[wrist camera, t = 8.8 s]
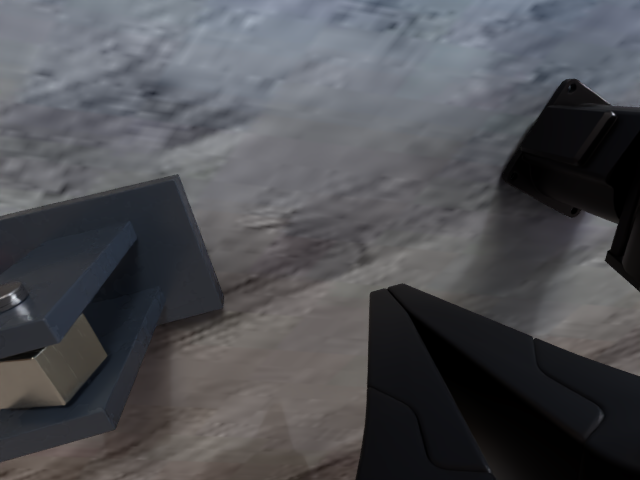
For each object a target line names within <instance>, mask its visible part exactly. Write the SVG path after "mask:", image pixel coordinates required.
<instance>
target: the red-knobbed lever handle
mask: <svg viewBox="0 0 640 480" xmlns="http://www.w3.org/2000/svg"><path fill="white" fill-rule="evenodd" d="M107 356H108V355H107V353H106V351H105V350H104V348H103V346H102V344H101V343H100V341H99V339H98V338H97V336H96V334H95V332H94V331H93V329H92V327H91V326H90V324H89V322H88V320H87V319H86V317H85V315H84V314H83V313H82V314H81V315H80V316H79V318H78V319H77V320H76V322H75V323H74V324H73V326H72V327H71V329H70V330H69V331H68V333H67V334H66V335H65V337H64V338H63V339H62V341H61V342H60V343H58V344H55V345H51V346H47V347H44V348H40V349H36V350H32V351H28V352H25V353H21V354H17V355H13V356H9V357H6V358H2V359H0V409H12V408H31V407H49V406H65V405H66V404H67V403H68V402H69V401H70V400H71V399H72V397H73V396H74V395H75V394H76V393H77V392H78V390H79V389H80V388H81V387H82V386H83V385H84V383H85V382H86V381H87V380H88V379H89V378H90V377H91V375H92V374H93V373H94V372H95V371H96V370H97V368H98V367H99V366H100V365H101V364H102V363H103V361H104V360H105V359H106V358H107Z"/></svg>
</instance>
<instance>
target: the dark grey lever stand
mask: <svg viewBox="0 0 640 480" xmlns="http://www.w3.org/2000/svg"><path fill="white" fill-rule="evenodd" d="M223 303H224V296H223V293H222V290H221V288H220V285H219V282H218V280H217V277H216V274H215V271H214V269H213V266H212V263H211V261H210V258H209V255H208V253H207V250H206V247H205V245H204V242H203V239H202V237H201V234H200V231H199V228H198V226H197V223H196V220H195V218H194V215H193V212H192V210H191V207H190V204H189V202H188V199H187V196H186V193H185V191H184V188H183V185H182V183H181V180H180V177H179V175H178V174H177V175H173V176H169V177H164V178H160V179H156V180H152V181H147V182H143V183H139V184H135V185H130V186H126V187H122V188H118V189H113V190H109V191H105V192H101V193H96V194H92V195H88V196H84V197H79V198H75V199H71V200H67V201H62V202H58V203H54V204H50V205H46V206H41V207H37V208H33V209H29V210H24V211H20V212H16V213H12V214H7V215H3V216H0V359H2V358H6V357H9V356H13V355H17V354H21V353H25V352H28V351H32V350H36V349H40V348H44V347H47V346H51V345H55V344H58V343H60V342H61V341H62V339H63V338H64V337H65V335H66V334H67V333H68V331H69V330H70V329H71V327H72V326H73V324H74V323H75V322H76V320H77V319H78V318H79V316H80V315H81V314H82V313H83V314H84V315H85V317H86V319H87V320H88V322H89V324H90V326H91V327H92V329H93V331H94V332H95V334H96V336H97V338H98V339H99V341H100V343H101V344H102V346H103V348H104V350H105V351H106V353H107V355H108V356H107V358H106V359H105V360H104V361H103V363H102V364H101V365H100V366H99V367H98V368H97V370H96V371H95V372H94V373H93V374H92V375H91V377H90V378H89V379H88V380H87V381H86V382H85V383H84V385H83V386H82V387H81V388H80V389H79V390H78V392H77V393H76V394H75V395H74V396H73V397H72V399H71V400H70V401H69V402H68V403H67V404H66V405H65V406H49V407H31V408H12V409H1V410H0V462H3V461H7V460H11V459H14V458H18V457H21V456H25V455H28V454H32V453H35V452H39V451H42V450H46V449H49V448H53V447H56V446H60V445H63V444H67V443H70V442H74V441H77V440H81V439H84V438H88V437H91V436H95V435H99V434H102V433H106V432H109V431H113V430H115V429H116V427H117V424H118V422H119V419H120V417H121V414H122V411H123V409H124V406H125V404H126V401H127V399H128V396H129V394H130V391H131V388H132V386H133V383H134V381H135V378H136V376H137V373H138V371H139V368H140V366H141V363H142V360H143V358H144V355H145V353H146V350H147V348H148V345H149V343H150V340H151V338H152V335H153V332H154V330H155V327H156V326H158V325H161V324H165V323H169V322H173V321H177V320H180V319H184V318H188V317H192V316H195V315H199V314H203V313H207V312H210V311H214V310H218V309H222V308H223Z"/></svg>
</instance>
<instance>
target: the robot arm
mask: <svg viewBox="0 0 640 480" xmlns="http://www.w3.org/2000/svg"><path fill="white" fill-rule="evenodd" d="M569 86H571V88H570V91H569V92H568V88H569ZM512 173H514V176H513V177H512V178H511V174H512ZM503 180H504V181H505V182H506V183H508V184H510V185H511V186H513V187H515V188H517V189H519V190H520V191H522V192H524V193H526V194H528V195H529V196H531V197H533V198H535V199H537V200H538V201H540V202H542V203H544V204H546V205H547V206H549V207H551V208H553V209H555V210H556V211H558V212H560V213H562V214H564V215H566V216H568V217H571V218H573V217H576V216H577V215H578V214H579V213H580V212H581V210H583V211H585V212H588V213H591V214H593V215H596V216H598V217H601V218H604V219H606V220H609V221H611V222H614V223H617V224H618V226H617V229H616V232H615V236H614V239H613V243H612V246H611V249H610V250H609V251H607V255H606V258H605V261H606V262H607V263H608V264H609V265H610V266H611V267H612V268H613V269H615V270H616V271H617V272H618V273H619V274H620V275H621V276H622V277H624V278H625V279H626V280H627V281H628V282H629V283H630V284H631V285H633V286H634V287H635V288H636V289H637V290H638V291H639V292H640V108H638V107H623V106H612V105H611V104H610V103H608V102H607V101H605V100H604V99H603V98H601V97H600V96H599V95H597V94H596V93H595V92H593V91H592V90H591V89H589V88H588V87H587V86H585V85H584V84H583V83H581V82H580V81H579V80H577V79H566V80H565V81H563V82H562V83H561V85H560V86H559V88H558V89H557V91H556V92H555V94H554V95H553V97H552V98H551V100H550V102H549V103H548V105H547V106H546V108H545V109H544V111H543V112H542V114H541V115H540V117H539V118H538V120H537V122H536V123H535V125H534V126H533V128H532V129H531V131H530V132H529V134H528V136H527V137H526V139H525V140H524V142H523V143H522V145H521V146H520V148H519V150H518V151H517V153H516V154H515V156H514V157H513V159H512V160H511V162H510V163H509V165H508V167H507V168H506V170H505V171H504V173H503ZM572 208H573V209H572ZM571 209H572V211H571ZM367 388H368V389H367V404H366V418H365V428H364V435H363V442H362V448H361V454H360V459H359V464H358V470H357V475H356V480H640V376H637V375H634V374H631V373H628V372H625V371H622V370H619V369H616V368H613V367H611V366H608V365H605V364H602V363H599V362H596V361H593V360H591V359H588V358H585V357H582V356H580V355H577V354H575V353H572V352H569V351H567V350H564V349H562V348H559V347H557V346H554V345H552V344H549V343H547V342H544V341H542V340H540V339H537V338H535V339H534V340H533V337H532V336H530V335H527V334H525V333H522V332H520V331H517V330H515V329H513V328H510V327H508V326H505V325H503V324H500V323H498V322H496V321H493V320H491V319H488V318H486V317H483V316H481V315H479V314H476V313H474V312H471V311H469V310H467V309H464V308H462V307H459V306H457V305H454V304H452V303H450V302H447V301H445V300H442V299H440V298H437V297H435V296H433V295H430V294H428V293H425V292H423V291H420V290H418V289H416V288H413V287H411V286H408V285H406V284H398V285H395V286H391V287H388V289H380V290H377V291H373V292H371V293H370V306H369V341H368V377H367Z"/></svg>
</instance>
